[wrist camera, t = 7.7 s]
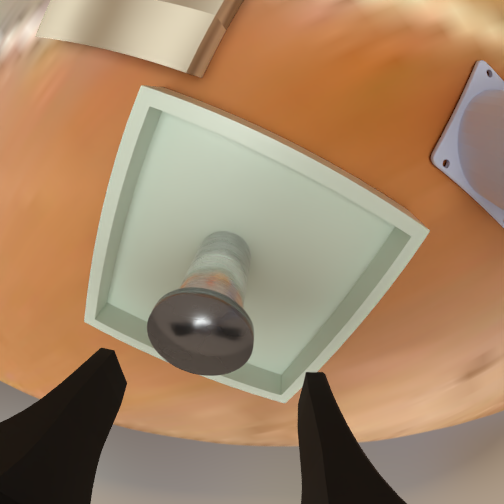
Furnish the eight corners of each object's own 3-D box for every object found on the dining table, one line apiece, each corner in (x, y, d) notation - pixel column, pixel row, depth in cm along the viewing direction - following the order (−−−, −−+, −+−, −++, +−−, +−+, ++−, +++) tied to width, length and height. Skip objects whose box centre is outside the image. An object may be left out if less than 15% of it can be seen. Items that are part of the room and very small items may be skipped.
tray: (409, 210, 16) (430, 230, 14) (285, 373, 23) (285, 403, 21) (163, 87, 14) (141, 85, 11) (102, 297, 21) (84, 321, 18)
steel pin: (260, 220, 16) (251, 298, 10) (262, 286, 18) (254, 378, 12) (184, 221, 17) (135, 294, 10) (193, 285, 19) (160, 371, 12)
